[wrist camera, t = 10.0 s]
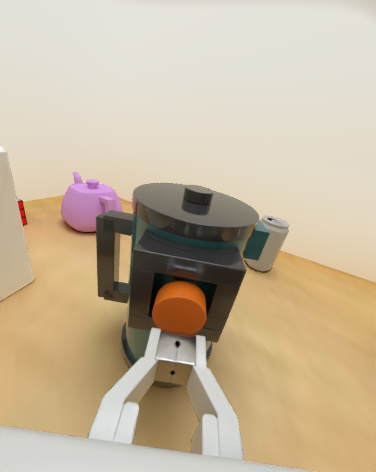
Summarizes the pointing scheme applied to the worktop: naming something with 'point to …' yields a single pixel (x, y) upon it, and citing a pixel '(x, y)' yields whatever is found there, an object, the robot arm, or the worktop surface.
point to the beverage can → (270, 243)
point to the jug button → (180, 307)
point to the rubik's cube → (22, 211)
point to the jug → (176, 256)
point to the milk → (11, 236)
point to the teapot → (87, 203)
